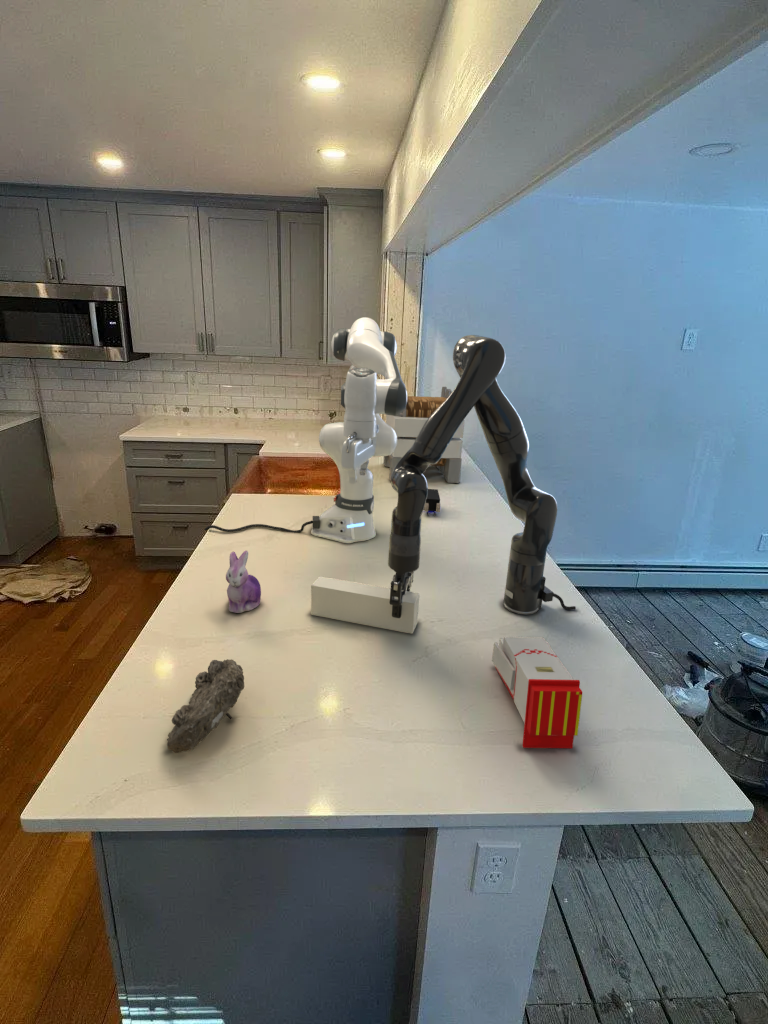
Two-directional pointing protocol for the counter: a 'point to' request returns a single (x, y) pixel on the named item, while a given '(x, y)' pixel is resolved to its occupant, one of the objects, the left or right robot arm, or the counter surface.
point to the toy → (539, 691)
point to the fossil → (206, 705)
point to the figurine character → (432, 502)
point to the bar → (362, 604)
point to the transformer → (411, 425)
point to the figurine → (241, 585)
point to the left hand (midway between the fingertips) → (358, 478)
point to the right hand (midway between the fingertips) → (400, 609)
